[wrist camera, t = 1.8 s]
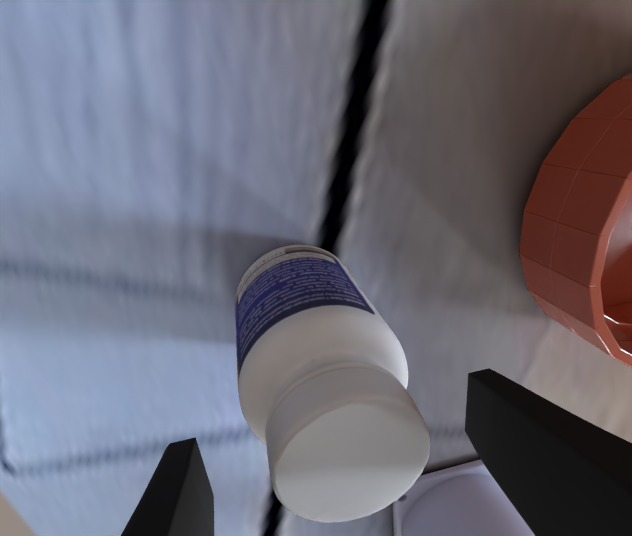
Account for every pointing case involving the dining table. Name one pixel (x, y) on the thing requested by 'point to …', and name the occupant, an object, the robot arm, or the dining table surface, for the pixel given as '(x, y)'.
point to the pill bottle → (325, 387)
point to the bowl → (586, 225)
